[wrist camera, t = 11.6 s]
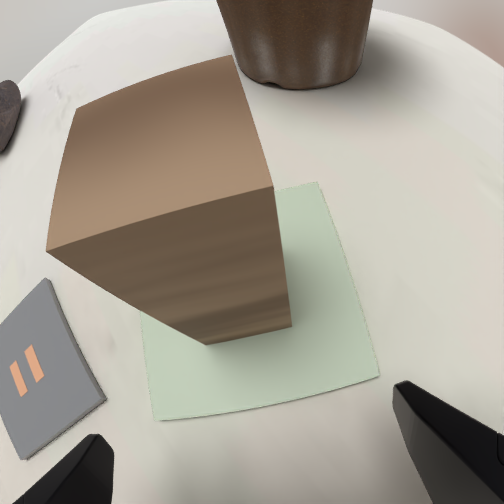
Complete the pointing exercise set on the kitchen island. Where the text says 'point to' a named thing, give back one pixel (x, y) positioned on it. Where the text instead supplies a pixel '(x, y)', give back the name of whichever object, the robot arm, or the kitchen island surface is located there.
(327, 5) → the plant pot
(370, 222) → the kitchen island surface
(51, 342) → the plate
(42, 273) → the kitchen island surface
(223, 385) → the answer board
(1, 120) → the perforated stone tool
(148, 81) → the walnut post
